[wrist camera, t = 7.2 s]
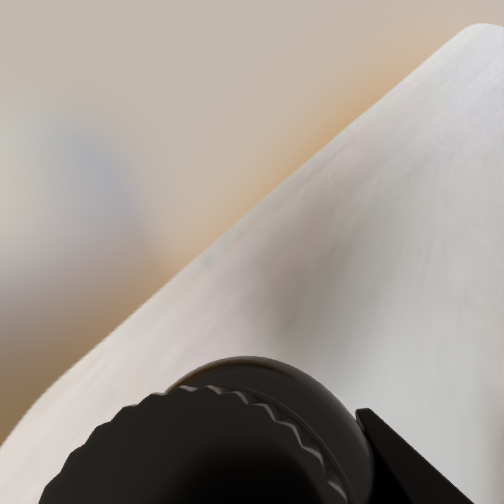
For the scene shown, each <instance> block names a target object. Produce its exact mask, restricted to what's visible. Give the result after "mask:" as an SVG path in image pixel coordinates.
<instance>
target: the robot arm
mask: <svg viewBox="0 0 504 504" xmlns="http://www.w3.org/2000/svg"><path fill="white" fill-rule="evenodd" d="M355 415H356V422H357V423H358V425H359V426H360V427H361V429H362V430H363V432H364V434H365V435H366V437H367V439H368V441H369V442H370V444H371V446H372V448H373V450H374V452H375V454H376V456H377V458H378V460H379V462H380V464H381V467H382V469H383V472H384V474H385V477H386V479H387V482H388V485H389V488H390V491H391V494H392V497H393V500H394V503H395V504H474V503H473V502H472V501H471V500H470V499H469V498H467V497H466V496H465V495H464V494H463V493H462V492H461V491H460V490H459V489H458V488H456V487H455V486H454V485H453V484H452V483H451V482H450V481H449V480H448V479H447V478H446V477H444V476H443V475H442V474H441V473H440V472H439V471H438V470H437V469H436V468H435V467H433V466H432V465H431V464H430V463H429V462H428V461H427V460H426V459H425V458H424V457H423V456H421V455H420V454H419V453H418V452H417V451H416V450H415V449H414V448H413V447H412V446H410V445H409V444H408V443H407V442H406V441H405V440H404V439H403V438H402V437H401V436H400V435H398V434H397V433H396V432H395V431H394V430H393V429H392V428H391V427H390V426H389V425H387V424H386V423H385V422H384V421H383V420H382V419H381V418H380V417H379V416H378V415H377V414H375V413H374V412H373V411H372V410H371V409H369V408H362V409H357V410H356V411H355Z"/></svg>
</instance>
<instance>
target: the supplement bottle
mask: <svg viewBox="0 0 504 504" xmlns="http://www.w3.org/2000/svg"><path fill="white" fill-rule="evenodd" d="M38 504H395V503H394V500H393V497H392V494H391V491H390V488H389V485H388V482H387V479H386V477H385V474H384V472H383V469H382V467H381V464H380V462H379V460H378V458H377V456H376V454H375V452H374V450H373V448H372V446H371V444H370V442H369V441H368V439H367V437H366V435H365V434H364V432H363V430H362V429H361V427H360V426H359V425H358V423H357V422H356V420H355V419H354V417H353V416H352V415H351V414H350V412H349V411H348V410H347V409H346V408H345V406H344V405H343V404H342V403H341V402H340V401H339V400H338V399H337V398H336V397H335V396H334V395H333V394H332V393H331V392H330V391H329V390H328V389H327V388H325V387H324V386H323V385H322V384H321V383H319V382H318V381H317V380H315V379H314V378H312V377H311V376H310V375H308V374H306V373H304V372H303V371H301V370H299V369H297V368H295V367H293V366H291V365H288V364H286V363H283V362H280V361H277V360H273V359H269V358H265V357H256V356H237V357H229V358H224V359H220V360H217V361H213V362H210V363H208V364H205V365H203V366H201V367H198V368H197V369H195V370H193V371H191V372H189V373H188V374H186V375H185V376H183V377H182V378H180V379H179V380H177V381H176V382H175V383H174V384H172V385H171V386H170V387H169V388H168V389H167V390H166V391H165V392H164V393H152V394H150V395H149V396H147V397H146V398H145V399H143V400H142V401H141V402H140V403H139V404H134V405H129V406H125V407H123V408H122V409H121V410H120V411H119V412H118V413H117V414H116V415H115V417H114V418H113V419H112V420H111V421H110V422H107V423H104V424H101V425H99V426H97V427H96V428H95V429H94V431H93V432H92V434H91V435H90V436H89V438H88V440H87V441H86V443H85V444H84V445H82V446H81V447H79V448H77V449H75V450H74V451H73V452H71V453H70V455H69V456H68V458H67V460H66V462H65V464H64V466H63V468H62V470H61V472H60V473H59V474H58V475H57V476H56V477H55V478H53V479H52V480H51V481H50V482H49V483H48V484H47V485H46V486H45V488H44V491H43V493H42V495H41V498H40V500H39V503H38Z"/></svg>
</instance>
